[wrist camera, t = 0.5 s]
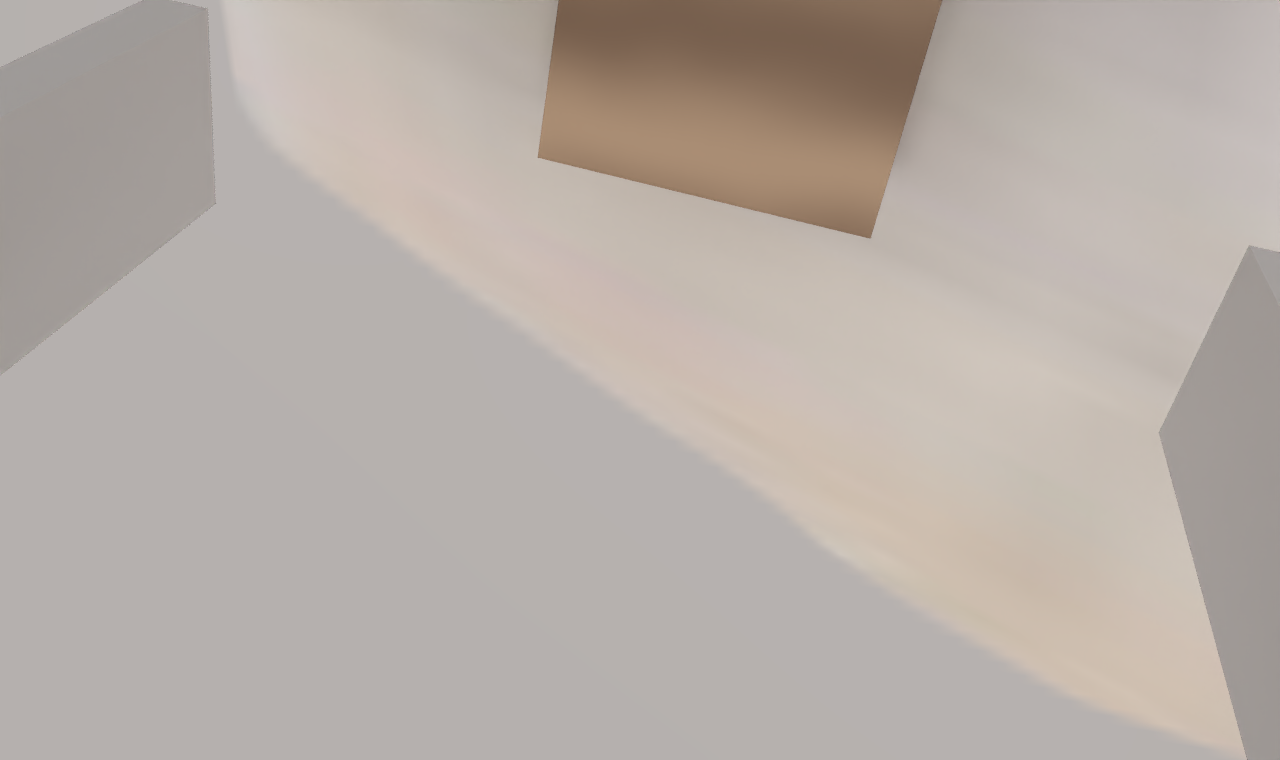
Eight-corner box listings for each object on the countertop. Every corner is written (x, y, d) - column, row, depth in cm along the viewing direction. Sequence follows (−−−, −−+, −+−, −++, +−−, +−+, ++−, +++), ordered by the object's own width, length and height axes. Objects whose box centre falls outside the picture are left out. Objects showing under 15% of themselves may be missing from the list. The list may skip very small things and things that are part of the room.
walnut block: (635, -231, 36) (587, -212, 31) (972, -158, 35) (980, -126, 30) (586, 95, 41) (537, 157, 36) (877, 165, 40) (870, 238, 35)
